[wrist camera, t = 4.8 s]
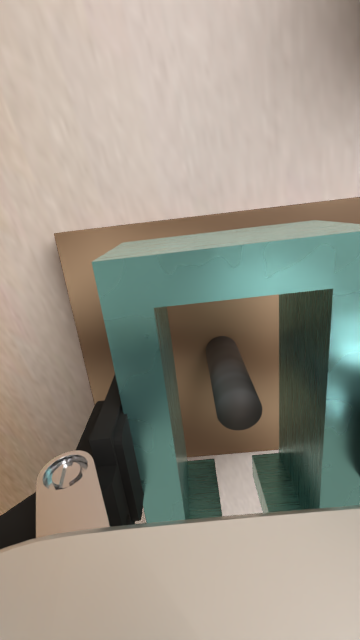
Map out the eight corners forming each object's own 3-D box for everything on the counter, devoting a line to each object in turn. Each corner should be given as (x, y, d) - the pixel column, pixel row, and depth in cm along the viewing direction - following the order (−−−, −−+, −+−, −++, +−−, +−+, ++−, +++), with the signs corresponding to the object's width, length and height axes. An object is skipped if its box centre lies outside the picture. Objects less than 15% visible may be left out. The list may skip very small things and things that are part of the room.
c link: (122, 242, 10) (91, 261, 7) (314, 220, 10) (393, 227, 6) (164, 483, 14) (159, 582, 10) (305, 471, 14) (351, 567, 10)
